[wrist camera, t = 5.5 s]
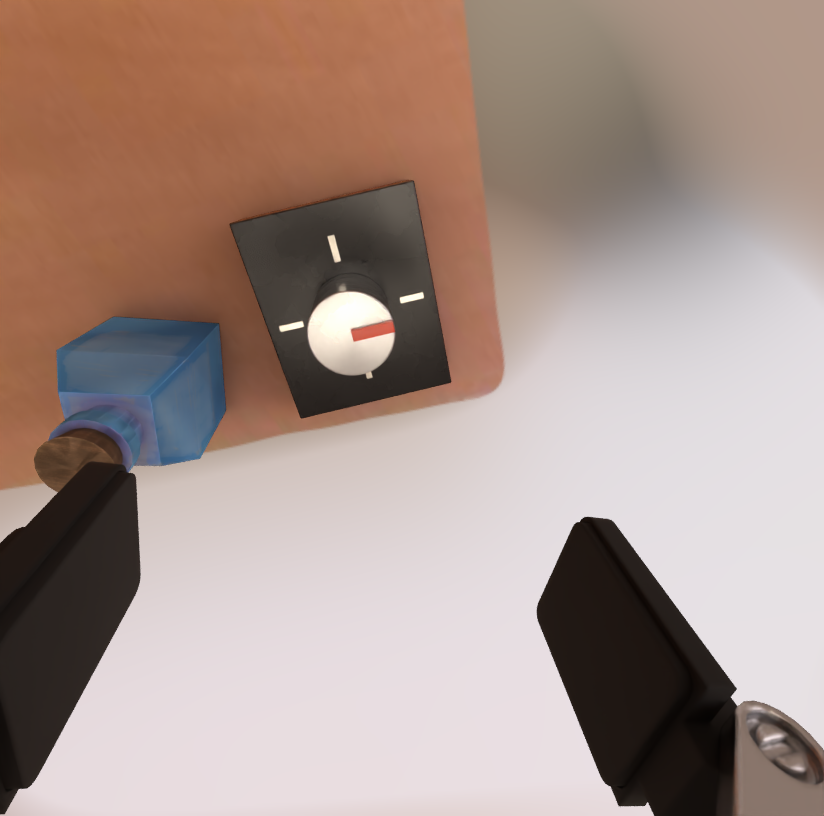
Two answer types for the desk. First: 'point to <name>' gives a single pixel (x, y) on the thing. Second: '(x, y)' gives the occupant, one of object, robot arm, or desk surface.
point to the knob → (351, 325)
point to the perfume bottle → (135, 396)
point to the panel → (343, 254)
